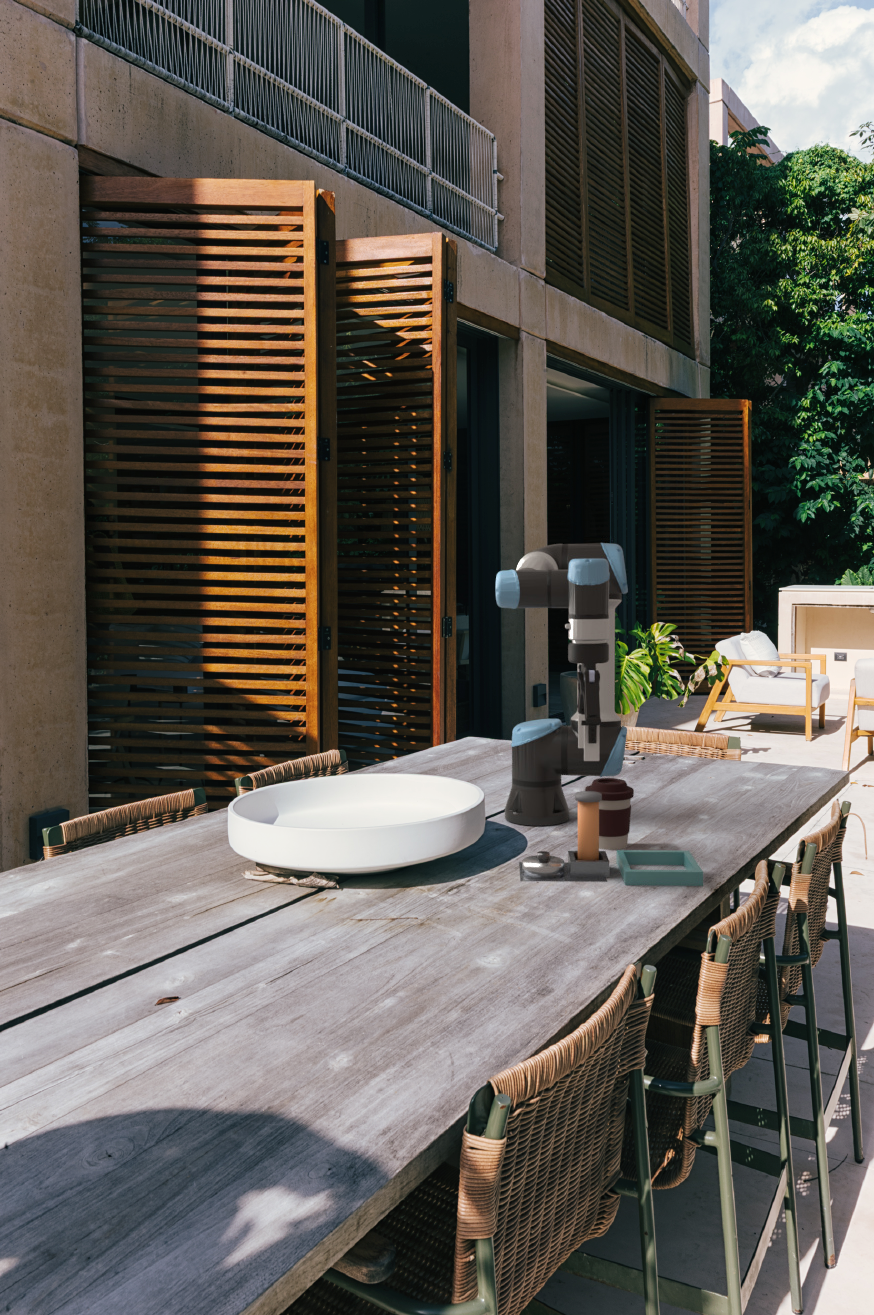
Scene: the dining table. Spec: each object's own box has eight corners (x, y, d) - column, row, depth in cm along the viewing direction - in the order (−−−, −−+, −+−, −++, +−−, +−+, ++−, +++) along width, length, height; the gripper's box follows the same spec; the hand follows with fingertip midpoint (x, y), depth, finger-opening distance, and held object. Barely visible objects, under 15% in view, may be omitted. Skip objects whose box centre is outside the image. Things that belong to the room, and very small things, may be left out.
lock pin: (574, 867, 196) (574, 791, 195) (600, 867, 196) (600, 791, 195) (576, 875, 191) (575, 797, 190) (602, 875, 191) (602, 797, 190)
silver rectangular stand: (519, 869, 200) (519, 844, 200) (604, 870, 199) (604, 844, 199) (520, 888, 189) (520, 861, 188) (610, 889, 188) (610, 862, 187)
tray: (616, 870, 199) (616, 850, 199) (688, 870, 198) (688, 850, 198) (625, 892, 185) (625, 871, 185) (703, 893, 185) (703, 872, 184)
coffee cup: (633, 859, 206) (633, 786, 205) (583, 857, 208) (583, 785, 207) (633, 846, 216) (633, 776, 215) (586, 844, 218) (586, 775, 217)
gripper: (563, 637, 202) (564, 743, 204) (573, 646, 177) (573, 766, 179) (602, 637, 202) (601, 743, 204) (616, 646, 177) (616, 766, 179)
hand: (588, 754), depth 191 cm, fingers open, 13 cm apart
